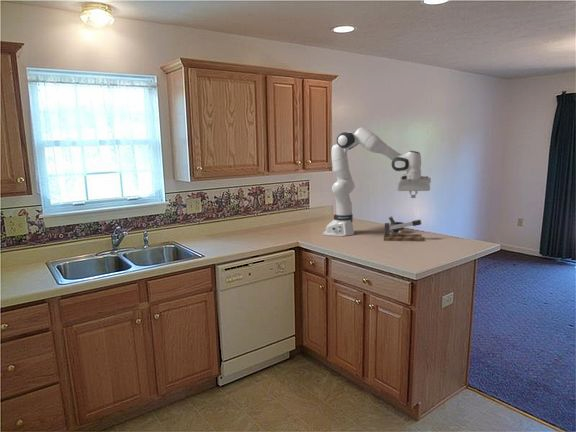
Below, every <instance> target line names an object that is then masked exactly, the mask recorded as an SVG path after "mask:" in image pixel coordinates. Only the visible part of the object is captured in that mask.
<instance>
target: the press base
mask: <svg viewBox="0 0 576 432" xmlns="http://www.w3.org/2000/svg"><path fill="white" fill-rule="evenodd" d="M389 226H390V222H385V223H384V234H383V241H385V242H389V241H390V242H423V235H422V234H421V233H420V234H419V233H416V234H415V233H405V234H404V235H403V236H399V235H398V234H395V233H390V231H391V230H389Z"/></svg>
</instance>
